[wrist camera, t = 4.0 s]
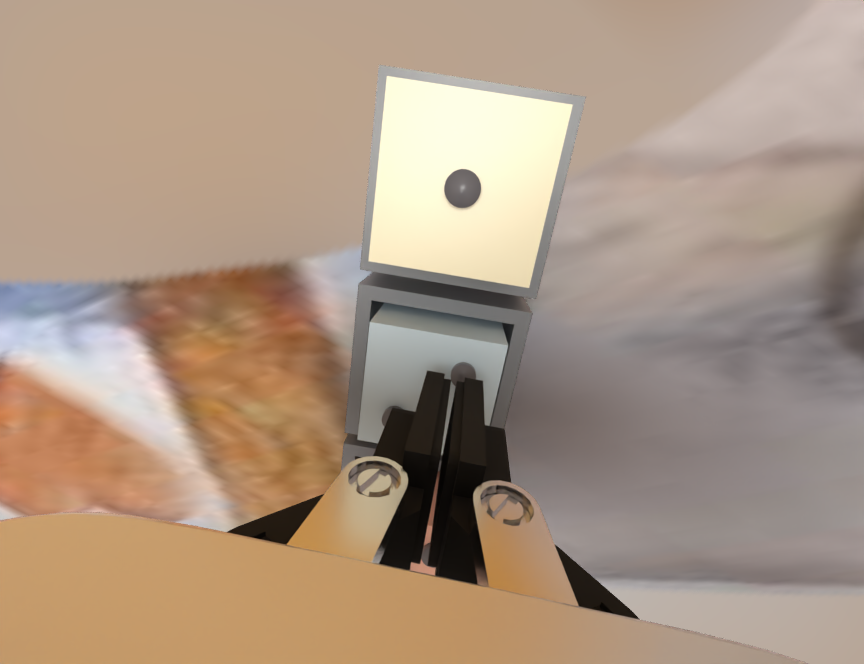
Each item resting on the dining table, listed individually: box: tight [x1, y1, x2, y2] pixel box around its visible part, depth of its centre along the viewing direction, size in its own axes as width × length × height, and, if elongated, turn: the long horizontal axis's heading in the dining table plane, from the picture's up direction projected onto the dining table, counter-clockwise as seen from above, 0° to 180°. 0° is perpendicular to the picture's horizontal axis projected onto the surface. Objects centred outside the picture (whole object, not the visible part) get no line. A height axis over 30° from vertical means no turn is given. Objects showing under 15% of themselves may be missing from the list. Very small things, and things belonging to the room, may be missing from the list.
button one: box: [368, 76, 573, 288], centre depth 12 cm, size 4×4×4 cm
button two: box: [357, 303, 508, 455], centre depth 15 cm, size 4×4×4 cm
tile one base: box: [360, 65, 586, 299], centre depth 14 cm, size 6×6×3 cm
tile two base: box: [345, 272, 532, 435], centre depth 16 cm, size 6×6×3 cm
